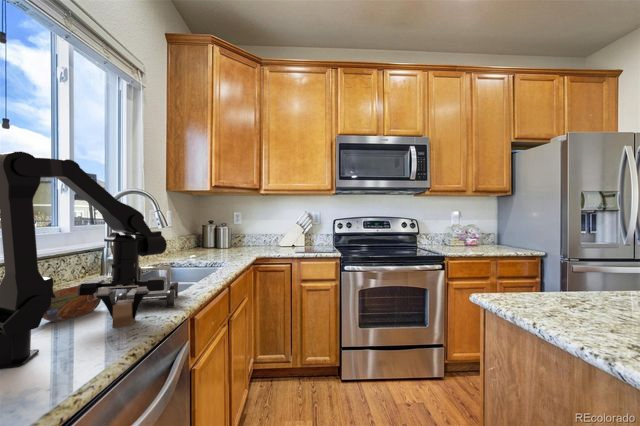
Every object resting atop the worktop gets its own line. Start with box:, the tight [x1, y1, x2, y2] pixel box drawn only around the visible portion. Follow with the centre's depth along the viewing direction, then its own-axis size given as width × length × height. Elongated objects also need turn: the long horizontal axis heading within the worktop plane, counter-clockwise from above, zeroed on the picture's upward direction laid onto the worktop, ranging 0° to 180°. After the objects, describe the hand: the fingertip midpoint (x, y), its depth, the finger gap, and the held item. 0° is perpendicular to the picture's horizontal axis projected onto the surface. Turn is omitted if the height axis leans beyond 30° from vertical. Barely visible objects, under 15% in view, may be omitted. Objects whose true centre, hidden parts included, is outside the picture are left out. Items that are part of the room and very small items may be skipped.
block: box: [112, 299, 136, 329], centre depth 79 cm, size 5×4×6 cm
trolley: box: [115, 265, 179, 308], centre depth 98 cm, size 17×15×11 cm
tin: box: [42, 284, 102, 323], centre depth 84 cm, size 15×3×8 cm, turn 163°
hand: (124, 318), depth 79 cm, fingers closed on block, 4 cm apart
